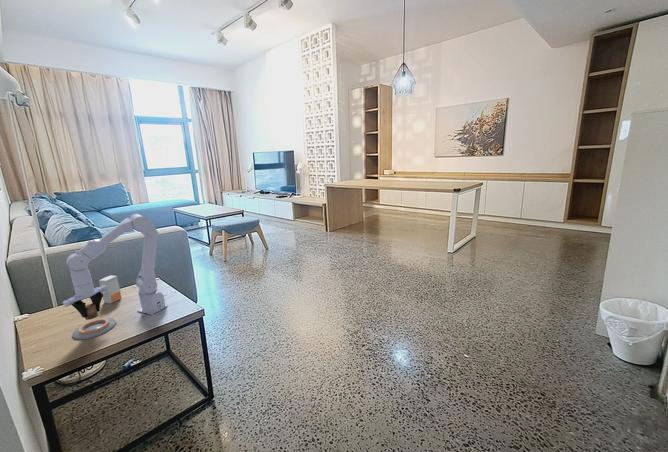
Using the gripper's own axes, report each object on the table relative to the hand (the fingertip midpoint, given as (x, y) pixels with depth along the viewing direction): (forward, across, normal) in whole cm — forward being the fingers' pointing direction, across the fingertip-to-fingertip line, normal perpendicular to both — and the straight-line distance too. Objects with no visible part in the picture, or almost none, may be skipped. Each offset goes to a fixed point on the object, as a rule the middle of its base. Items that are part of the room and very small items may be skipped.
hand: (91, 313), depth 117 cm
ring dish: (+7, 0, 0) cm, 7 cm away
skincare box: (+7, -19, -18) cm, 27 cm away
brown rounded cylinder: (+1, 0, 0) cm, 1 cm away
